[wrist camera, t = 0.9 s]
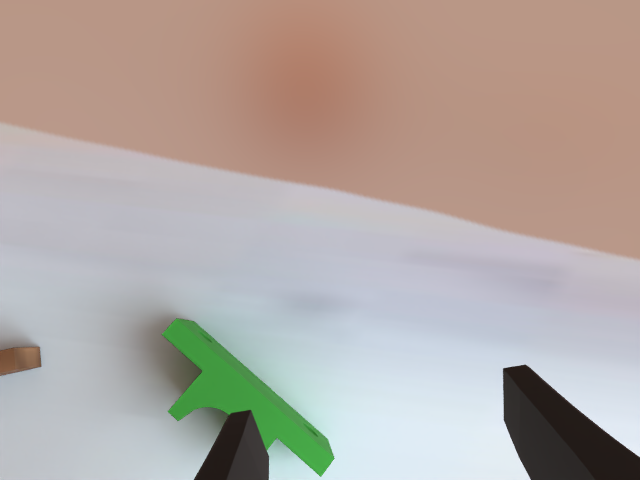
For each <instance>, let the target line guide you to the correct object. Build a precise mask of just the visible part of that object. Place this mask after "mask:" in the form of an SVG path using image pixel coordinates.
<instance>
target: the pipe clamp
mask: <svg viewBox="0 0 640 480" xmlns="http://www.w3.org/2000/svg"><path fill="white" fill-rule="evenodd" d="M162 335H163V336H164V337H165V338H166V339H167V340H168V341H170V342H171V343H172V344H173V345H174V346H175V347H176V348H177V349H179V350H180V351H181V352H182V353H183V354H184V355H185V356H186V357H187V358H189V359H190V360H191V361H192V362H193V363H194V364H195V365H196V366H198V367H199V368H200V369H201V370H202V372H201V374H200V375H199V376H198V377H197V378H196V379H195V381H194V382H193V383H192V384H191V385H190V386H189V388H188V389H187V390H186V391H185V392H184V393H183V394H182V396H181V397H180V398H179V399H178V400H177V401H176V403H175V404H174V405H173V406H172V407H171V408H170V409H169V411H168V412H169V413H170V414H171V415H172V416H173V417H174V418H175V419H176V420H177V421H179V420H181V419H182V418H183V417H185V416H186V415H188V414H189V413H190V412H192V411H193V410H195V409H198V408H203V407H212V408H217V409H220V410H222V411H224V412H226V413H227V414H228V415H230V413H234V412H240V411H246V410H251V411H252V413H253V416H254V419H255V421H256V424H257V427H258V429H259V432H260V434H261V437H262V440H263V442H264V445H265V448H266V450H267V449H268V448H269V447H270V446H271V444H272V443H273V442H274V441H275V439H276V438H278V439H279V440H280V441H281V442H282V443H284V444H285V445H286V446H287V447H288V448H289V449H290V450H291V451H292V452H294V453H295V454H296V455H297V456H298V457H299V458H300V459H301V460H303V461H304V462H305V463H306V464H307V465H308V466H309V467H310V468H311V469H313V470H314V471H315V472H316V473H317V474H318V475H319V476H320V477H321V476H322V475H323V473H324V472H325V471H326V469H327V468H328V467H329V465H330V464H331V462H332V461H333V460H334V456H333V453H332V450H331V447H330V444H329V442H328V439H327V438H326V437H325V436H323V435H322V434H321V433H320V432H319V431H318V430H317V429H316V428H314V427H313V426H312V425H311V424H310V423H309V422H308V421H306V420H305V419H304V418H303V417H302V416H301V415H300V414H299V413H297V412H296V411H295V410H294V409H293V408H292V407H291V406H289V405H288V404H287V403H286V402H285V401H284V400H283V399H282V398H280V397H279V396H278V395H277V394H276V393H275V392H274V391H272V390H271V389H270V388H269V387H268V386H267V385H266V384H265V383H263V382H262V381H261V380H260V379H259V378H258V377H257V376H255V375H254V374H253V373H252V372H251V371H250V370H249V369H248V368H246V367H245V366H244V365H243V364H242V363H241V362H240V361H238V360H237V359H236V358H235V357H234V356H233V355H232V354H231V353H229V352H228V351H227V350H226V349H225V348H224V347H223V346H221V345H220V344H219V343H218V342H217V341H216V340H215V339H214V338H212V337H211V336H210V335H209V334H208V333H207V332H206V331H204V330H203V329H202V328H201V327H200V326H199V325H198V324H197V323H195V322H194V321H189V320H183V319H177V318H176V319H175V320H174V322H173V323H172V324H171V325H170V326H169V327H168V328H167V329H166V330H165V331H164V333H163V334H162Z"/></svg>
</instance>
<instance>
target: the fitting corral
mask: <svg viewBox="0 0 640 480" xmlns="http://www.w3.org/2000/svg"><path fill="white" fill-rule="evenodd" d="M38 367H41V358H40V347H23V348H10V349H6V350H1V351H0V376H2V375H6V374H11V373H15V372H20V371H24V370H29V369H33V368H38Z"/></svg>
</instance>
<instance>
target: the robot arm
mask: <svg viewBox="0 0 640 480" xmlns="http://www.w3.org/2000/svg"><path fill="white" fill-rule="evenodd" d="M503 391H504V422H505V424H506V427H507V429H508V432H509V434H510V437H511V439H512V442H513V444H514V446H515V449H516V451H517V453H518V456H519V458H520V460H521V462H522V464H523V466H524V467H525V469H526V471H527V473H528V475H529V477H530V479H531V480H640V457H639V456H637V455H636V454H634V453H633V452H632V451H630V450H629V449H628V448H626V447H625V446H624V445H622V444H621V443H620V442H618V441H617V440H616V439H614V438H613V437H612V436H610V435H609V434H608V433H606V432H605V431H604V430H603V429H601V428H600V427H599V426H598V425H596V424H595V423H594V422H593V421H591V420H590V419H589V418H588V417H586V416H585V415H584V414H583V413H581V412H580V411H579V410H578V409H577V408H575V407H574V406H573V405H572V404H571V403H569V402H568V401H567V400H566V399H565V398H564V397H562V396H561V395H560V394H559V393H558V392H557V391H555V390H554V389H553V388H552V387H551V386H550V385H549V384H548V383H546V382H545V381H544V380H543V379H542V378H541V377H540V376H539V375H537V374H536V373H535V372H534V371H533V370H532V369H531V368H530V367H528V366H527V365H521V366H515V367H508V368H503ZM194 480H269V456H268V453H267V450H266V448H265V445H264V442H263V440H262V437H261V434H260V432H259V429H258V427H257V424H256V421H255V419H254V416H253V413H252V411H251V410H246V411H240V412H234V413H230V415H229V416H228V418H227V420H226V422H225V423H224V425H223V427H222V429H221V431H220V433H219V435H218V437H217V439H216V441H215V443H214V445H213V446H212V448H211V450H210V452H209V454H208V456H207V457H206V459H205V461H204V463H203V465H202V466H201V468H200V470H199V472H198V473H197V475H196V477H195V479H194Z"/></svg>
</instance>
